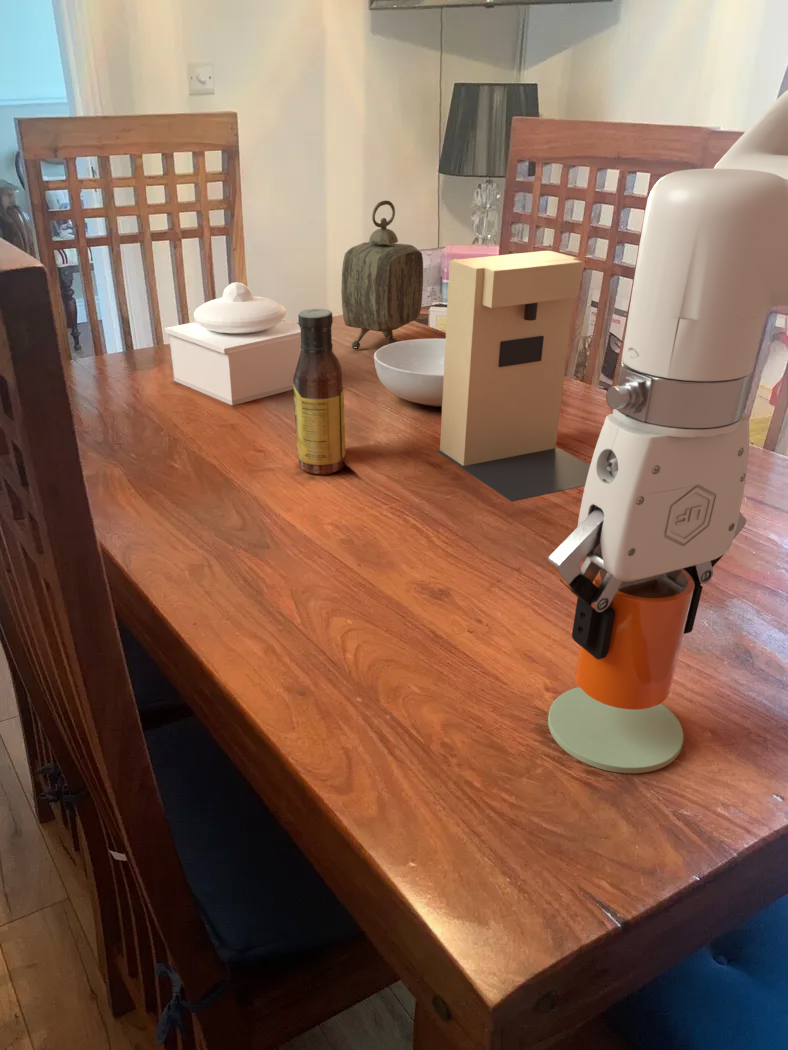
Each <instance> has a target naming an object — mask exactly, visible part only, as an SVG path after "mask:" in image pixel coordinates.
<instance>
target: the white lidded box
mask: <svg viewBox="0 0 788 1050" xmlns="http://www.w3.org/2000/svg"><path fill="white" fill-rule="evenodd" d="M286 315H287V312H286V309H285V307H284V306H283V305H282V304H280V302H277V301H276V300H273V299H270V298H267V297H263V296H257V295H256V296H255V295H253V293H252V291H251V289H250V287H248V286H247V285H246V284H244V283H243V282H238V281H235V282H231V283H229V284H228V285H227V286H226V287H225V288H224V289H223V293H222V295H221V297H218V298H215V299H211V300H208V301H206V302H204V303H202V304H201V305H199V306H198V307H197V308H196V309H195V310H194V312H193V319H194V321H193V322H188V323H183V324H178V325H172V326H168V327H164V332H165V333H166V334H168V338H169V345H170V346H169V347H170V348H169V349H170V355H171V356H170V357H171V364H172V374H173V381H174V382H176V383H178V384H180V385H183V386H185V387H187V388H189V389H193V390H195V391H197V392H199V393H201V394H204V395H206V396H209V397H211V398H214V399H216V400H217V401H220V402H223V403H225V404H227V405H230V406H235V405H240V404H243V403H247V402H251V401H255V400H259V399H262V398H266V397H270V396H274V395H278V394H281V393H285V392H288V391H292V390H293V391H294V389H293V378H294V374H295V370H296V367H297V363H298V359H299V356H300V352H301V329H300V326H299V323H295V322H292V321H288V320H285V318H286Z"/></svg>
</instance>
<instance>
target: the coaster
mask: <svg viewBox="0 0 788 1050" xmlns="http://www.w3.org/2000/svg"><path fill="white" fill-rule="evenodd" d="M548 711H549V712H548V715H547V725H548V726H547V727H548V730H549V732H550V735H551V737H552V738H553V739H554V741H555V743H556V744H557V745H558V746H559V747H560V748H561V749H562V750H563V751H565V752H566V754H568V755H570V756H571V757H572V758H574V759H576V760H577V761H579V762H582V763H584V764H586V765H588V766H590V767H593V768H597V769H600V770H603V771H606V772H612V773H617V774H618V773H619V774H633V775H634V774H644V773H650V772H654V771H657V770H658V771H659V770H661V769H662V768H665V767H668V766H669V765H670V764H672V762H674V761H675V760H676V759H677V757H678V756H679V755H680V753H681V751H682V748H683V745H684V739H685V737H684V730H683V726H682V725H681V722H680V720H679V719H678V718H677V716H676V715H675V714H674V713H673V712H672V711H671V710H670V708H668V707H667V706H665V705H664V704H663V703H661V704H659V705H657V706H654V707H651V708H647V709H638V710H631V709H622V708H616V707H612V706H609V705H606V704H603V703H601V702H599V701H597V700H595V699H593V698H591V697H590V696H588V695H587V694H586V693H585V692H584V691H583V690H582V689H581V688H580V687H579V686H578V687H573V688H571V689H569V690H566V691H565V692H563V693H561V694H560V695H559V696H557V697H556V698H555V700H554V701H553V702H552V703H551V705H550V708H549V710H548Z"/></svg>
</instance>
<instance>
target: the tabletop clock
mask: <svg viewBox="0 0 788 1050" xmlns="http://www.w3.org/2000/svg"><path fill="white" fill-rule="evenodd" d="M386 205H387V206H389V207H390V208H391V212H392V213H391V217H390V219H388V220H387V218H386V217H382V218H380V222H377V221H376V213H377V211H378V210H379V208H380V207H382V206H386ZM395 215H396V209H395V205H394V203H392V202H391V200H381V201H379V202H377V204H376V205H375V206H374V208H373V210H372V214H371V218H372V223H373V224H374V226H375V227H377V228H378V229H376V230H374V231H373V232H372V233H371V234H370V237H369V239H368V241H367V242H362V243H360V244H357V245H354V246H351V247H350V248H349V249H348V250H347V251H346V252H345V253H344V257H343V260H342V267H341V308H342V317H343V321H344V325H345V326H347V327H350V328H354V329H355V328H356V329H361V330H360V333H359V335H358V337H357V339H356V340H353V341H352V342H351V344H350V345H351V348H352V349H353V350H359V348H360V347H361V344H360V342H361V341H362V339H363V338H364V337H365V335H366V334H367V333H368V332H369V331H374V332H379V333H382V335H383V334H384V335H383V337H385V338H388V337H389V340H388V342H387V345H389V344H392V343H395V342H398V341H397V339H395V338H394V334H393V331H395V330H398V329H399V328H401V327H403V326H406V325H407V324H409V323H411V322H414V321H416V320H417V319H418V318H419V316H420V315H421V311H422V305H423V304H422V303H423V291H424V257H423V253H422V252H421V251H420V250H419V249H418V248H417V247H415V246H414V245H412V244H405V243H398V242H399V240H398V236H397V234H396V233H395V231H393V230H392V229H391V228H387V227H388V226H390V225H391V224H392V223H393V221H394V219H395ZM354 347H357V348H354Z"/></svg>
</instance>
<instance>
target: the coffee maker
mask: <svg viewBox="0 0 788 1050" xmlns="http://www.w3.org/2000/svg"><path fill="white" fill-rule="evenodd" d="M448 263H449V264H448V281H447V282H448V284H447V285H448V286H447V303H446V321H445V323H446V324H445V339H446V340H445V360H444V380H443V399H442V407H441V418H440V419H441V421H440V438H439V439H440V441H439V444H440V445H439V450H436V452H437V453H438V454H440V455H441V456H443V457H445V458H446V459H447V460H449V461H450V462H451V463H453V464H455V465H457V466H458V467H460V468H461V469H462V470H464V471H465V472H467V473H468V474H469V475H471V476H473V477H474V478H475V479H477V480H478V481H480V482H481V483H483V484H484V485H486V486H487V487H489V488H490V489H492V490H493V491H495V492H497V493H498V494H499V495H501V496H502V497H504V498H505V499H507V500H508V501H510V502H511V503H512V502H517V501H522V500H526V499H531V498H536V497H540V496H545V495H549V494H554V493H558V492H564V491H569V490H573V489H577V488H583V487H585V484H586V480H587V476H588V472H589V468H590V464H591V463H588V462H586V461H584V460H582V459H581V458H579V457H577V456H575V455H573V454H571V453H569V452H568V451H566V450H564V449H562V448H560V447H558V446H557V440H558V430H559V423H560V414H561V409H562V398H563V390H564V382H565V376H566V375H565V374H566V367H567V366H566V365H567V358H568V350H569V344H570V343H569V342H570V334H571V326H572V319H573V310H574V302H575V299H577V298H578V299H579V295H580V286H581V280H582V279H581V278H582V270H583V263H584V261H582V260H580V258H579V257H575V256H572V255H568V254H564V253H561V252H560V253H559V252H557V251H556V252H555V251H553V250H541V251H539V250H538V251H530V252H519V253H509V254H499V255H489V256H480V257H479V256H478V257H471V258H469V257H468V258H459V259H450V260H449V262H448Z"/></svg>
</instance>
